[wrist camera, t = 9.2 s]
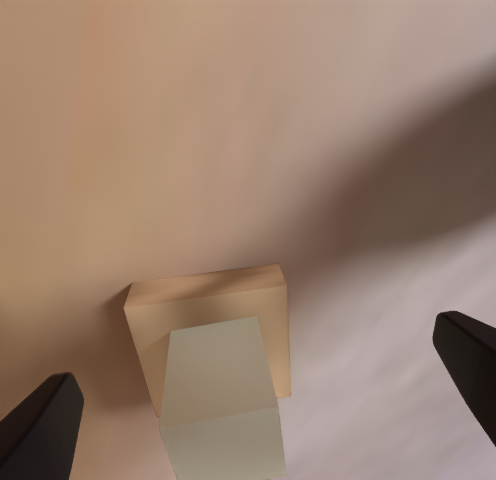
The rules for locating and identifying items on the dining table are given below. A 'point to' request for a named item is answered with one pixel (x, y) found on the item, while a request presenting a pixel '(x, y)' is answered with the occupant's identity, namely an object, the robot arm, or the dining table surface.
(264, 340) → the oak block
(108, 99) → the dining table surface
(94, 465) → the dining table surface
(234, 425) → the sage cube
